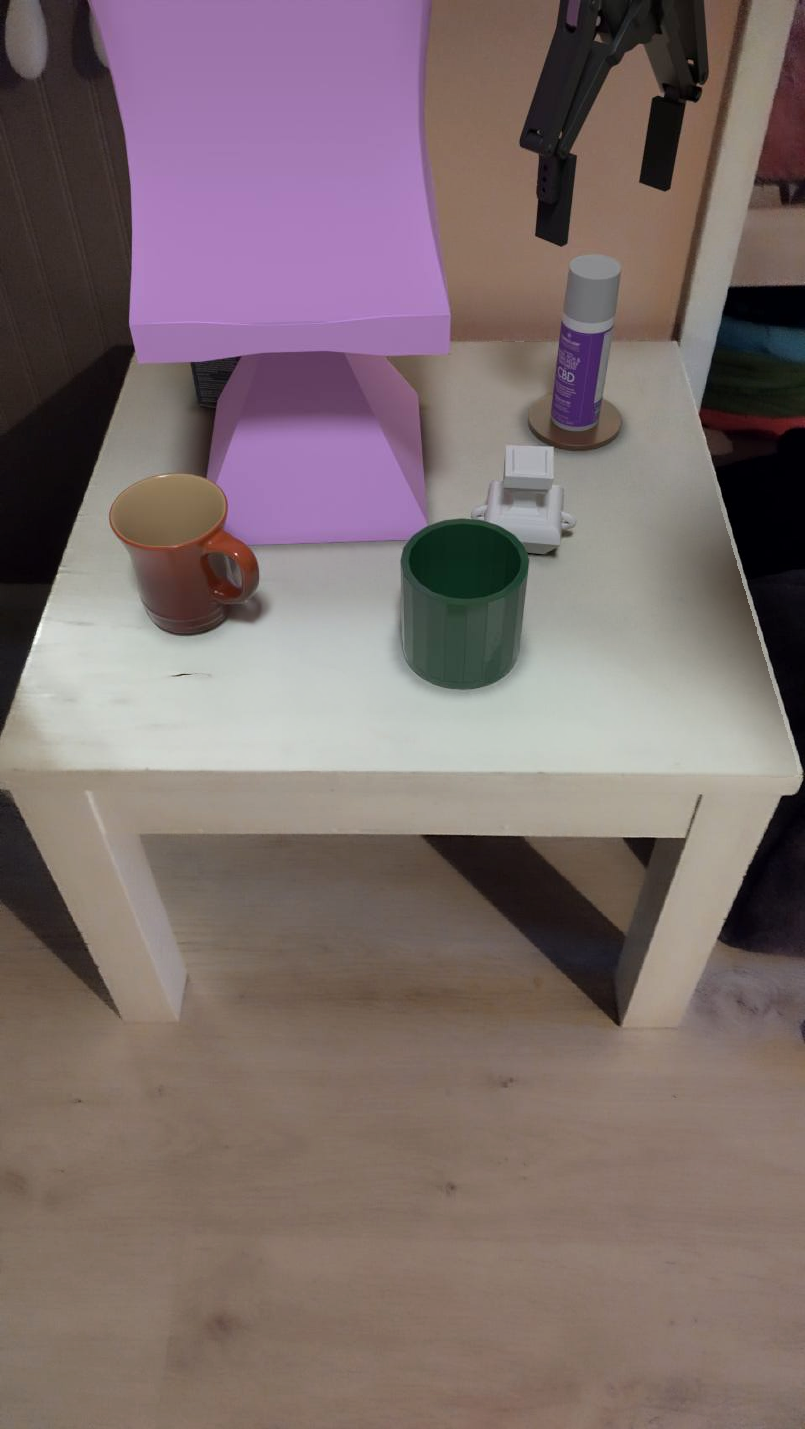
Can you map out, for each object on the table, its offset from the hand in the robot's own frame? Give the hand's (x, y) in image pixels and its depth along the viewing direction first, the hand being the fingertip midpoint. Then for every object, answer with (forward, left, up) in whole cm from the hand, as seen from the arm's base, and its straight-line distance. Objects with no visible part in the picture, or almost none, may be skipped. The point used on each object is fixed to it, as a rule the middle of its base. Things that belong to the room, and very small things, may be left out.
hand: (604, 212), depth 83 cm
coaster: (0, 0, -20) cm, 20 cm away
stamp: (-7, +16, -21) cm, 27 cm away
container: (0, 0, -20) cm, 20 cm away
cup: (-12, +29, -20) cm, 38 cm away
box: (+29, +19, -21) cm, 40 cm away
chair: (+12, +23, -20) cm, 33 cm away
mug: (+5, +41, -20) cm, 46 cm away
